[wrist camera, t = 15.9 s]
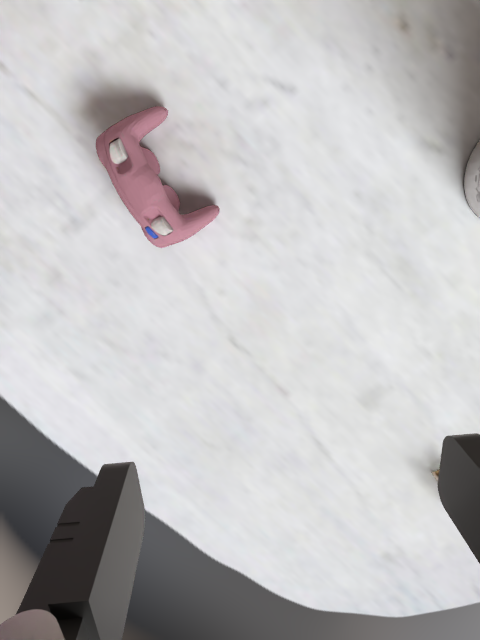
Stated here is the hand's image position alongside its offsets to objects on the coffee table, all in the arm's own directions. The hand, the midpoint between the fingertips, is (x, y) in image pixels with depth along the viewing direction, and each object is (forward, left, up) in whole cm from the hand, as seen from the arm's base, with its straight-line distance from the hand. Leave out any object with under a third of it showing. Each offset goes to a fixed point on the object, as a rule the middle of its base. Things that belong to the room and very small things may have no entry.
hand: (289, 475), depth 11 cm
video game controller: (+6, -7, -28) cm, 30 cm away
